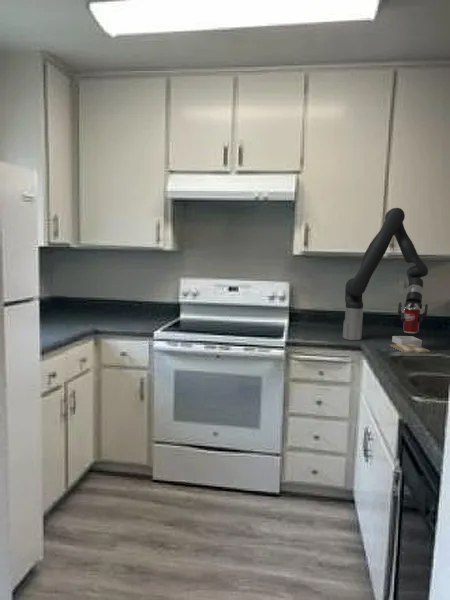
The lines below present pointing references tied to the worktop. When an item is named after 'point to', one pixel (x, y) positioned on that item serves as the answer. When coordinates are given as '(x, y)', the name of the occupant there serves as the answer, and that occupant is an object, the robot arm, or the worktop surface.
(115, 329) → the worktop surface
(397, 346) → the trivet
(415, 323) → the soda can
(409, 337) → the can collar
